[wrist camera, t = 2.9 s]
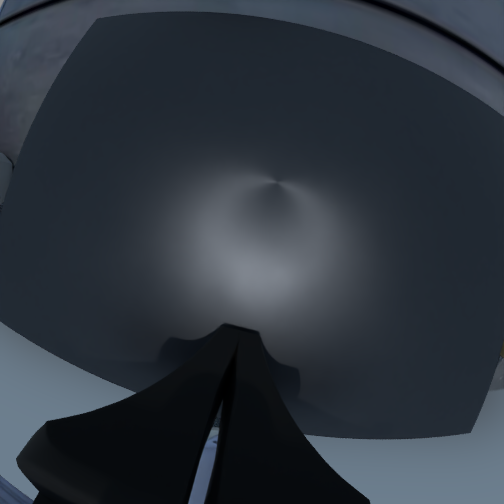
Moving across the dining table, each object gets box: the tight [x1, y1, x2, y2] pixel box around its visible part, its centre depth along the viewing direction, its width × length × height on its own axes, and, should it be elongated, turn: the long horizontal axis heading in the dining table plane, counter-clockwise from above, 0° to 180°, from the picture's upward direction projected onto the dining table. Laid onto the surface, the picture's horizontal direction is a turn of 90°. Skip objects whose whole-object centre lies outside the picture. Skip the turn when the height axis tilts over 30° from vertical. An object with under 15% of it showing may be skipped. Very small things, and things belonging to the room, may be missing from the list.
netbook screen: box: [0, 12, 504, 439], centre depth 11 cm, size 18×26×1 cm
